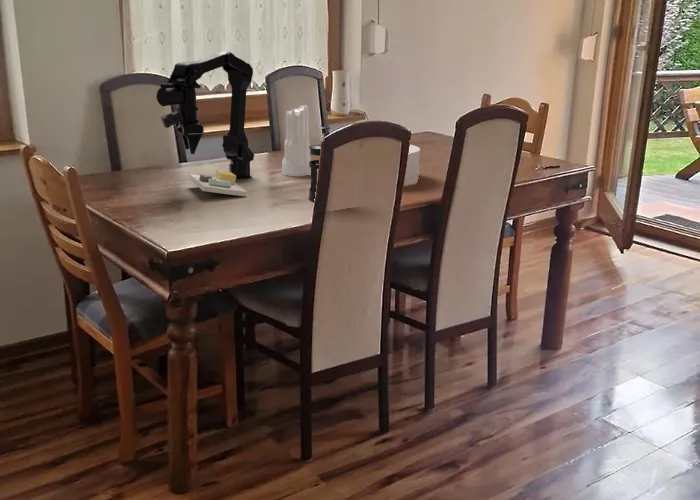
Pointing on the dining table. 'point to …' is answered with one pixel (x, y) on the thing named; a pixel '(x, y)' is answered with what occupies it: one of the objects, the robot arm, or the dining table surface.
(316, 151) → the french press
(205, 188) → the instrument board
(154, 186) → the dining table surface
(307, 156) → the decorative vase
